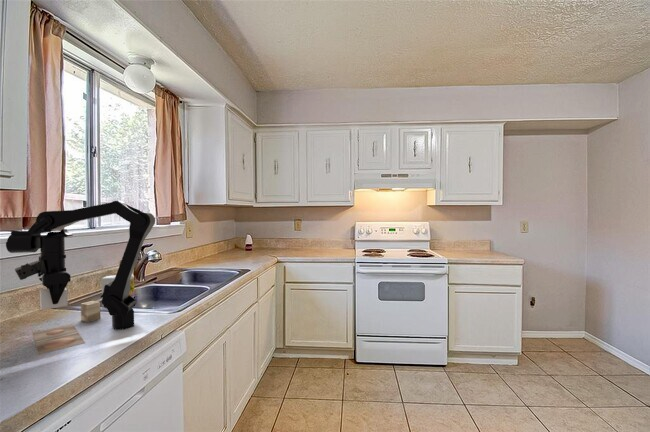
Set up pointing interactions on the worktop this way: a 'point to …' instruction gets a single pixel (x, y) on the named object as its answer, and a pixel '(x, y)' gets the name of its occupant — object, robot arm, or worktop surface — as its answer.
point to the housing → (47, 301)
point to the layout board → (57, 338)
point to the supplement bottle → (131, 286)
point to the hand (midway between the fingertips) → (53, 301)
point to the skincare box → (106, 282)
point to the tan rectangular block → (90, 311)
